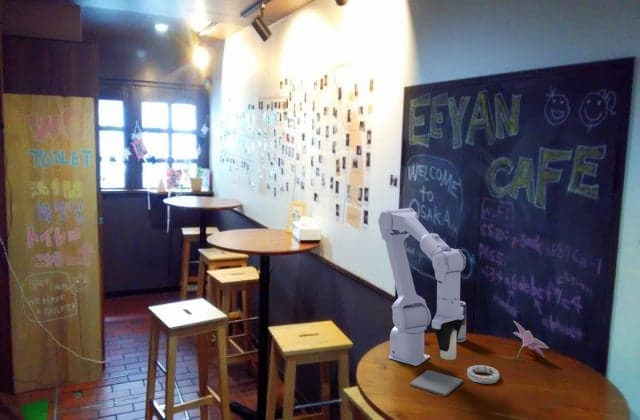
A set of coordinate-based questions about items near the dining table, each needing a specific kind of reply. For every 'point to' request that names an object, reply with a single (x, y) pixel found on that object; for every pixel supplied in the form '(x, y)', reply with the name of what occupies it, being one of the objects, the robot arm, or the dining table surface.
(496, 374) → the ring
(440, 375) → the mat
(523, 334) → the lily
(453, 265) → the robot arm
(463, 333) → the energy drink
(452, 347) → the peg
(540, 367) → the dining table surface
